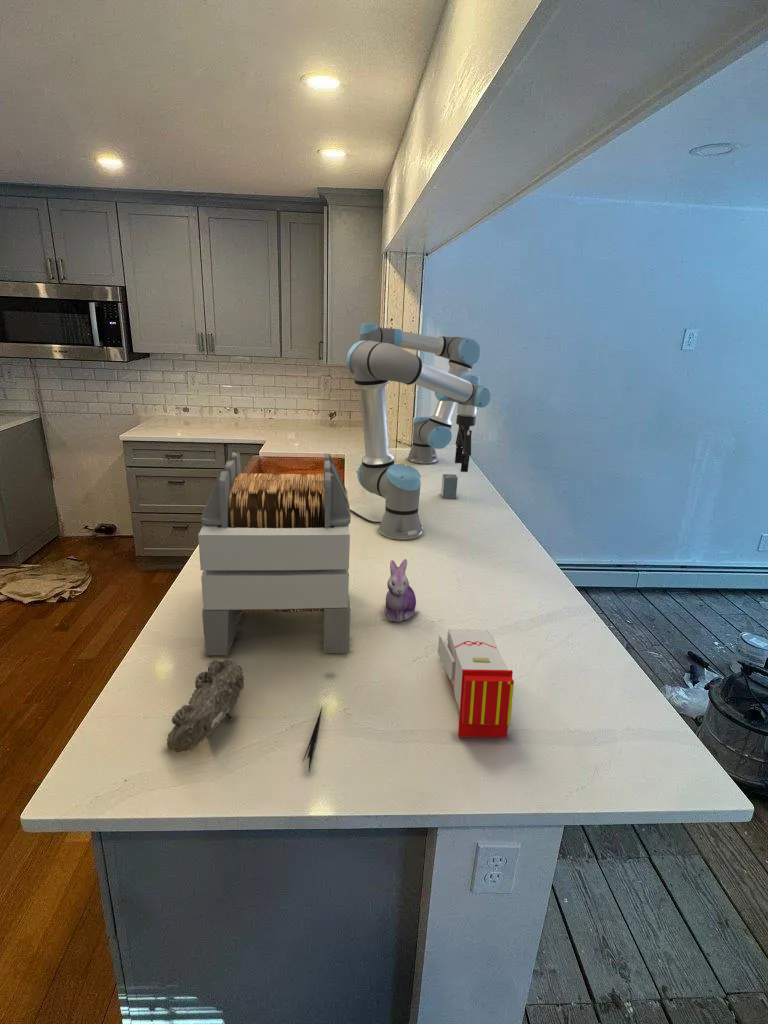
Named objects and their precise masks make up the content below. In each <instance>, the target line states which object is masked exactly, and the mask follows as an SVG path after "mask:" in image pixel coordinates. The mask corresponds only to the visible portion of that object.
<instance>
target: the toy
mask: <svg viewBox="0 0 768 1024" xmlns="http://www.w3.org/2000/svg"><path fill="white" fill-rule="evenodd" d="M446 640H447V643H446V641H445V639H444V636H443V635H442V634H439V637H438V646H437V656H438V657H439V659H440V661H441V663H442V666H443V668H444V670H445V672H446V674H447V677H448V679H449V681H450V684H451V687H452V690H453V693H454V697H455V701H456V705H457V708H458V711H459V714H458V715H459V716H458V730H457V731H458V732H457V737H458V738H508V731H509V726H510V725H511V717H512V707H513V697H514V696H513V695H514V684H515V680H514V679H513V673H514V671H513V670H512V669H508V667H507V665H506V662H505V661H504V659H503V658H502V655H501V653H500V651H499V649H498V647H497V643H496V639H495V637H494V635H493V634H491V632H490V631H489V629H467V628H466V629H465V628H463V629H461V628H460V629H459V628H448V630H447V639H446Z"/></svg>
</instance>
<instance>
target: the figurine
mask: <svg viewBox="0 0 768 1024" xmlns="http://www.w3.org/2000/svg"><path fill="white" fill-rule="evenodd" d="M407 567H408V559H406V558H404V559H403V560H402V561H401V563H400V565H399V566H398V565H397V563H396V562H395V561H394V560H393V559H391V560H390V561H389V570H390V576H389V578H388V579H387V589H388V591H387V592H386V594H385V595H386V596H385V607H384V615H385V616H386V620H387V621H391V622H395V623H400V622H402V621H406V620H409V619H410V618H411V617H413V616H414V615H415V610H416V606H417V597H416V593H415V591H414V590H413V587H411V586H410V582H409V579H408V577H407V574H406V571H407Z"/></svg>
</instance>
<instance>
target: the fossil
mask: <svg viewBox="0 0 768 1024" xmlns="http://www.w3.org/2000/svg"><path fill="white" fill-rule="evenodd" d="M243 670H244V669H243V667H242V665H240V664H237V662H236V661H235V660H234V659H232V658H231V659H227V658H226V659H224V660H223V661H222V660H217V659H212V660H211V661H210V663H209V665H208V666H207V671H201V672H199V673H198V674H197V675H196V676H195V680H194V684H195V685H194V687H195V689H194V690H193V693H192V694H191V697H190V698H189V700H188V704H184V705H182V706H181V707H180V709H177V710H176V711H175V713H174V715H173V716H172V718H171V723H172V724H173V727H172V730H171V731H170V732H168V734H167V738H166V741H167V742H166V745H167V749H168V750H169V751H173V752H174V753H176V754H178V753H182V752H188V751H189V752H192V751H193V750H195V748H196V747H197V746H199V744H200V743H201V742H203V741H204V740H205V739H206V738H207V737H208V736H209V735H210V734H211V733H212V732H214V730H215V729H217V727H218V726H219V724H220V722H221V721H222V720H223V719H224V718H225V716H226V717H227V719H229V720H233V717H232V715H230V714H229V710H230V709H231V708H234V706H235V704H236V703H237V702H238V699H239V697H240V695H241V693H242V691H243V690H245V689H244V688H245V675H244V671H243Z"/></svg>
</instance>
